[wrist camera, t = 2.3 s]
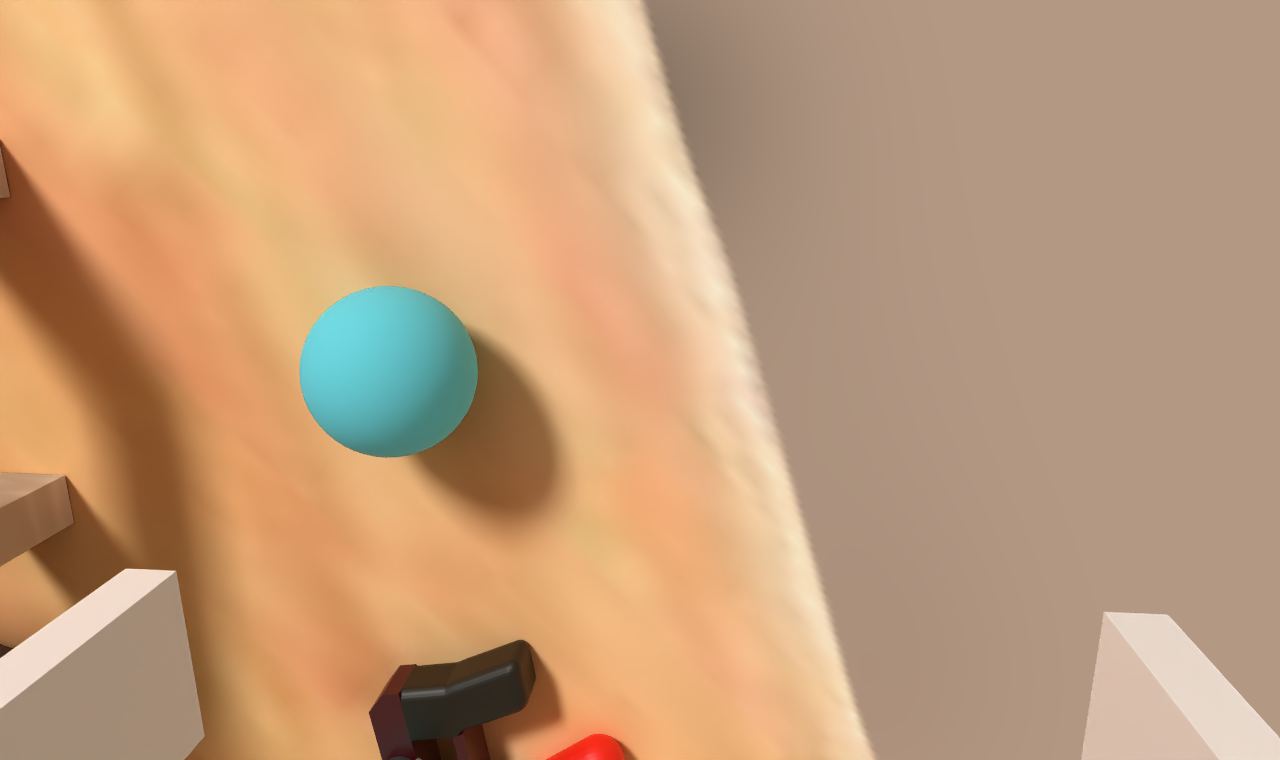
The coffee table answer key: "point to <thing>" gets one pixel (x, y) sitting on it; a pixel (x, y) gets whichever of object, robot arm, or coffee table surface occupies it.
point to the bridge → (29, 494)
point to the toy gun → (463, 707)
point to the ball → (388, 371)
